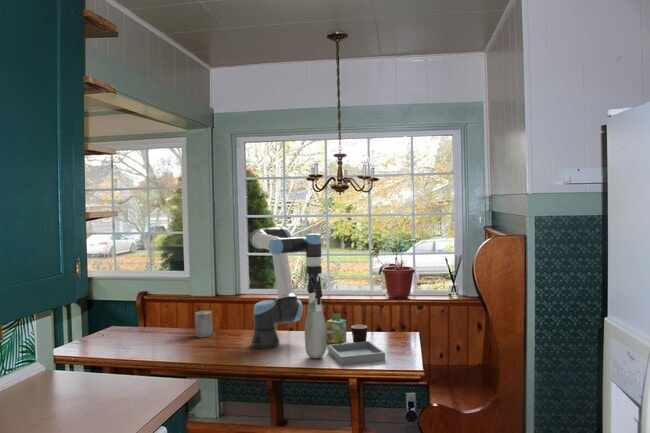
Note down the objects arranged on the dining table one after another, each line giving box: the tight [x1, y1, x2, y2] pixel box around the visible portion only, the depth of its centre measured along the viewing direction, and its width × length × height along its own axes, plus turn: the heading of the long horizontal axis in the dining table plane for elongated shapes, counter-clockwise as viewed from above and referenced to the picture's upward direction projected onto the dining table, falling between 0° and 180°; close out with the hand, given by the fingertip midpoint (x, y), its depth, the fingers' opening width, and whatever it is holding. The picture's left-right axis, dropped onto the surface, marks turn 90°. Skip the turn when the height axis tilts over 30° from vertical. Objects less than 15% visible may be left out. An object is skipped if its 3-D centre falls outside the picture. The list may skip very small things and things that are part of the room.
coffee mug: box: [350, 324, 368, 343], centre depth 281 cm, size 12×9×10 cm
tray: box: [327, 340, 386, 366], centre depth 259 cm, size 22×22×4 cm
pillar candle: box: [194, 309, 214, 338], centre depth 308 cm, size 10×10×15 cm
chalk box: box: [325, 313, 347, 344], centre depth 289 cm, size 9×9×15 cm
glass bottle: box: [304, 300, 327, 359], centre depth 259 cm, size 10×10×28 cm
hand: (315, 308), depth 258 cm, fingers open, 13 cm apart
